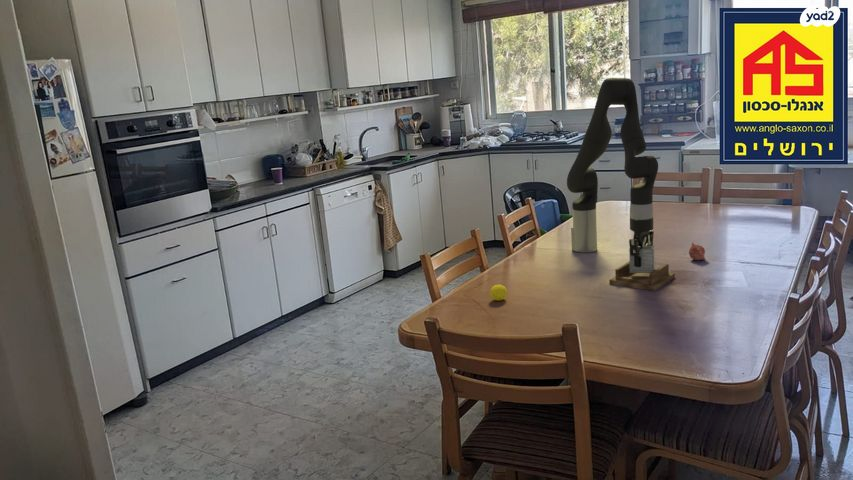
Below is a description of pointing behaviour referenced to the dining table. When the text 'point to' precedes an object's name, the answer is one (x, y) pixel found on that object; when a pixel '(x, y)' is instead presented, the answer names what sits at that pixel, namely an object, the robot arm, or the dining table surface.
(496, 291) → the lemon
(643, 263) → the medicine box
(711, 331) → the dining table surface
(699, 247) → the orange ridged rounded piece
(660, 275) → the brown wooden tray
